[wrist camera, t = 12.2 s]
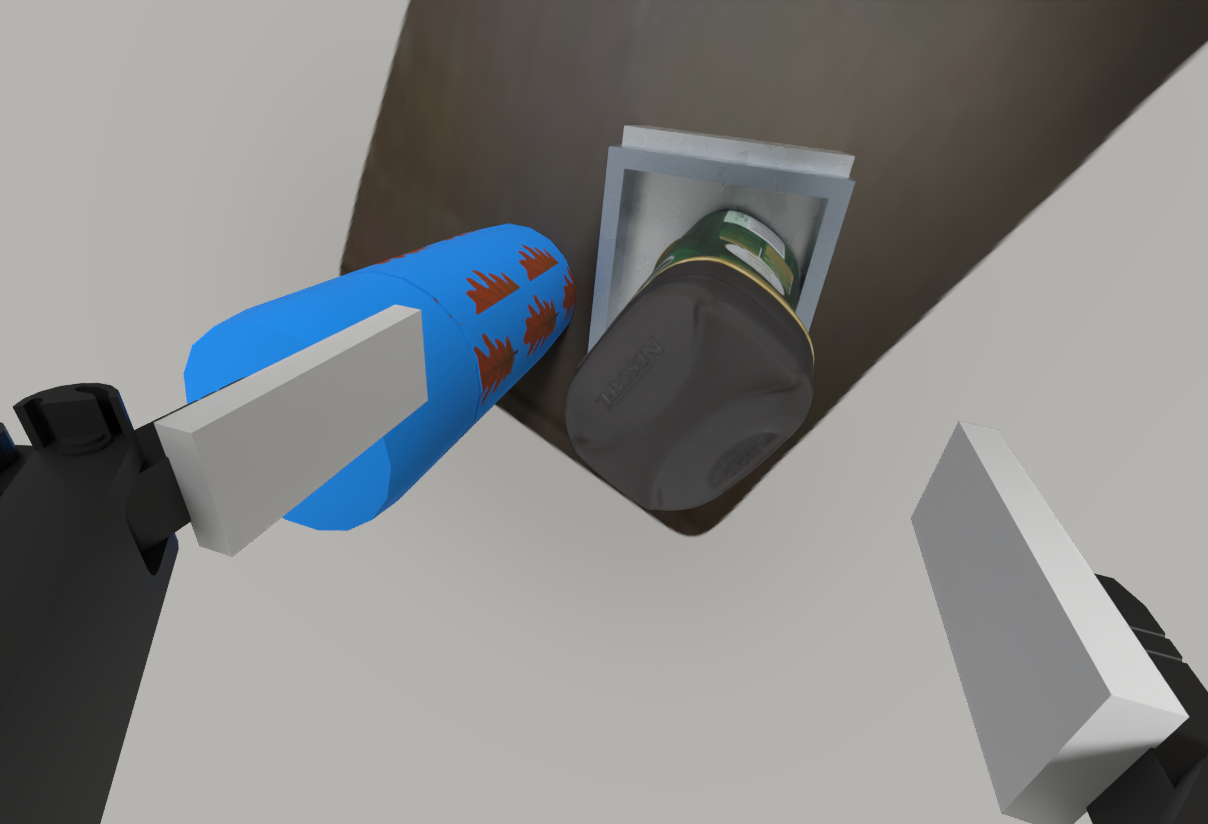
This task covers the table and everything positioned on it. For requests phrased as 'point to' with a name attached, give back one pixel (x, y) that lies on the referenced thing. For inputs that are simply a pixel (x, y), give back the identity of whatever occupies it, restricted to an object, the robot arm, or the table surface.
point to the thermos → (451, 347)
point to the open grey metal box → (713, 206)
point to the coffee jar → (697, 369)
